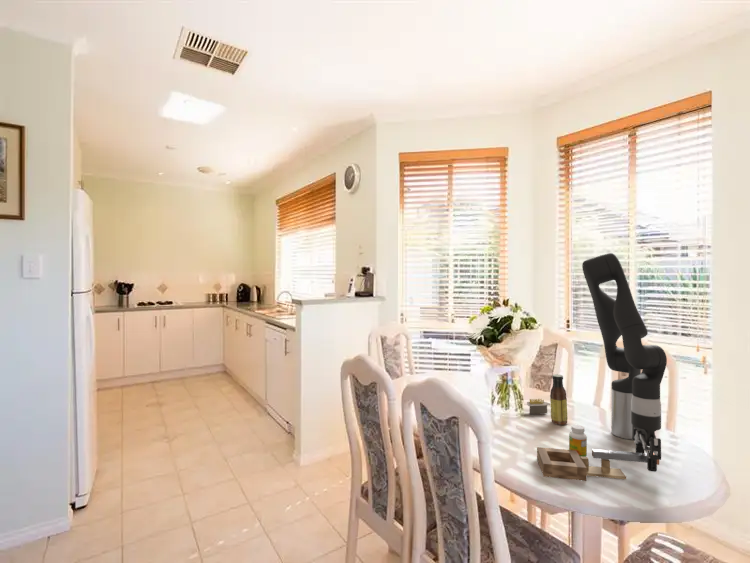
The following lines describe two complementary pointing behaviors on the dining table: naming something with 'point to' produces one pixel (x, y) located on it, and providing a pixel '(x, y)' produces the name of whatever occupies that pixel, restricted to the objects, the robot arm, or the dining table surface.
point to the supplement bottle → (578, 440)
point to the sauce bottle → (558, 401)
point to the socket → (561, 464)
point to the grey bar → (620, 455)
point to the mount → (602, 469)
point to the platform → (537, 406)
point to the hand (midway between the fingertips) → (645, 464)
